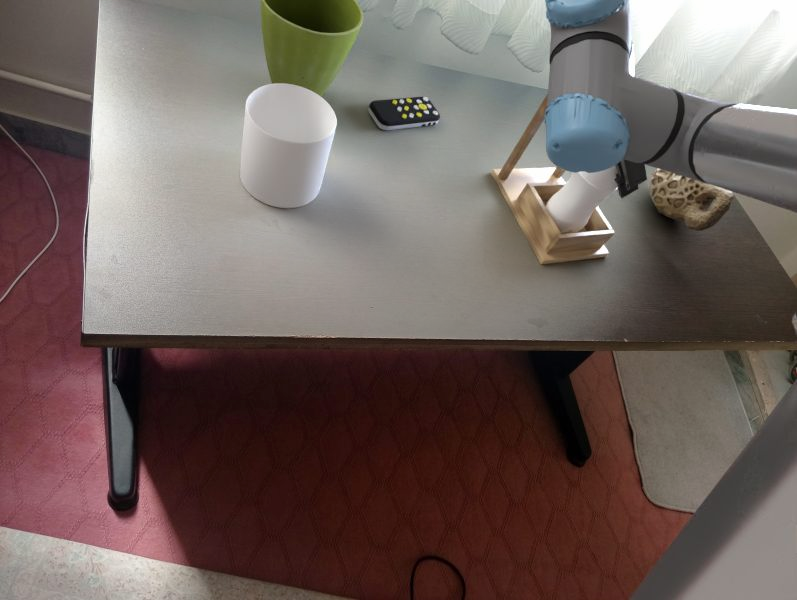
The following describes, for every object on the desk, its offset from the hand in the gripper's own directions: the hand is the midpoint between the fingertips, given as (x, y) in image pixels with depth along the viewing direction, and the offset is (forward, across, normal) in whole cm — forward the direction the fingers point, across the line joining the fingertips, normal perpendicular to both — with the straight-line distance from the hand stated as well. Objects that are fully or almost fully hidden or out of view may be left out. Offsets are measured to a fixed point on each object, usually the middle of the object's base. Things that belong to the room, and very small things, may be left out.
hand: (614, 172), depth 83 cm
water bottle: (+6, 0, -11) cm, 12 cm away
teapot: (+26, -1, +8) cm, 28 cm away
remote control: (-6, -28, -24) cm, 37 cm away
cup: (-24, -14, -42) cm, 51 cm away
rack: (+6, -3, -11) cm, 13 cm away
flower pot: (-19, -33, -37) cm, 53 cm away
